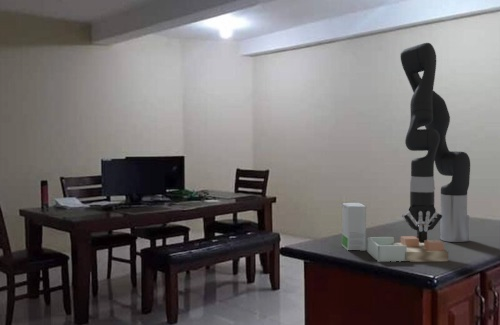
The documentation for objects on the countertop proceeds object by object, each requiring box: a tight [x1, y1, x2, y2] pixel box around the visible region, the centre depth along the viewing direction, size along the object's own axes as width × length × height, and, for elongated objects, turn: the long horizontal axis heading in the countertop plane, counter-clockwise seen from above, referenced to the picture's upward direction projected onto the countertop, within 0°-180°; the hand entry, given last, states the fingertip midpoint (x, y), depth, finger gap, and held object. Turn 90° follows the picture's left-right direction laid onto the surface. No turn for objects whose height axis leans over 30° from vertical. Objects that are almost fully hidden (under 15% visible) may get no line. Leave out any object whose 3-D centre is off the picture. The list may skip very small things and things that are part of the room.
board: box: [394, 242, 449, 263], centre depth 159 cm, size 13×14×3 cm
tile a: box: [400, 235, 420, 247], centre depth 162 cm, size 4×4×2 cm
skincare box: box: [341, 202, 367, 251], centre depth 171 cm, size 8×7×16 cm
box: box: [366, 236, 407, 263], centre depth 159 cm, size 9×14×5 cm, turn 0°
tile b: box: [424, 239, 445, 251], centre depth 155 cm, size 4×4×2 cm
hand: (421, 242), depth 161 cm, fingers closed
